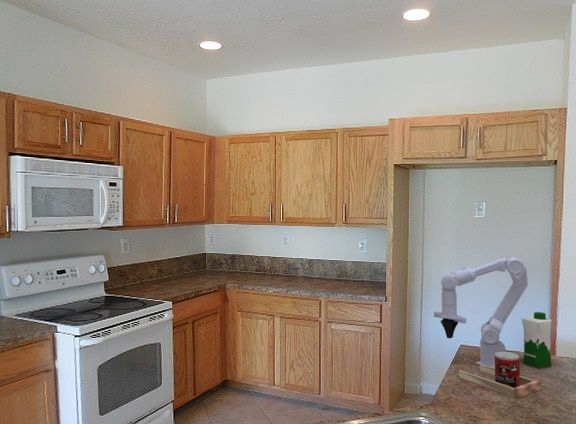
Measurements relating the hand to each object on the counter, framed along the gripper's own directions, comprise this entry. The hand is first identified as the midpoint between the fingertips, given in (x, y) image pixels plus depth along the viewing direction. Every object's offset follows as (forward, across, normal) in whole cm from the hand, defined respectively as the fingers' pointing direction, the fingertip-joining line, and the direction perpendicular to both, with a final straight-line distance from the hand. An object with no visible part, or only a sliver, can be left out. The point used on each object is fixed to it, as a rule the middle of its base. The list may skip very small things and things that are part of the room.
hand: (449, 337), depth 185 cm
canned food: (+10, +29, -6) cm, 31 cm away
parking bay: (+9, +25, -6) cm, 27 cm away
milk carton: (+10, +22, +24) cm, 34 cm away
